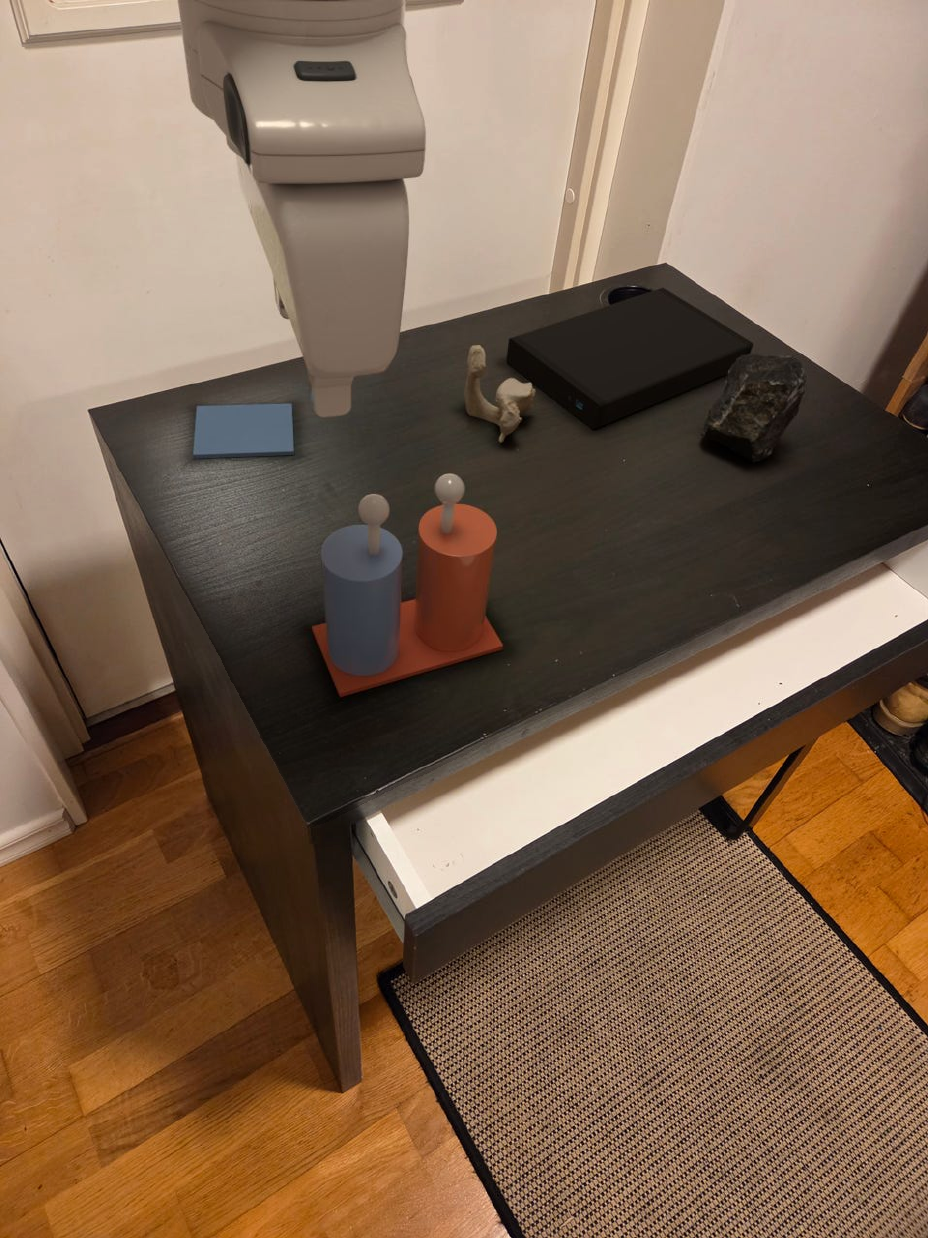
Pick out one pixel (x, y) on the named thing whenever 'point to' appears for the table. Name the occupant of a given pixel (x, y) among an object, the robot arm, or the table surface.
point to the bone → (509, 396)
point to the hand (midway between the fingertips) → (310, 357)
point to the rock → (756, 404)
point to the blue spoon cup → (363, 592)
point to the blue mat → (243, 431)
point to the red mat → (406, 655)
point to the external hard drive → (626, 355)
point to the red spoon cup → (453, 569)
